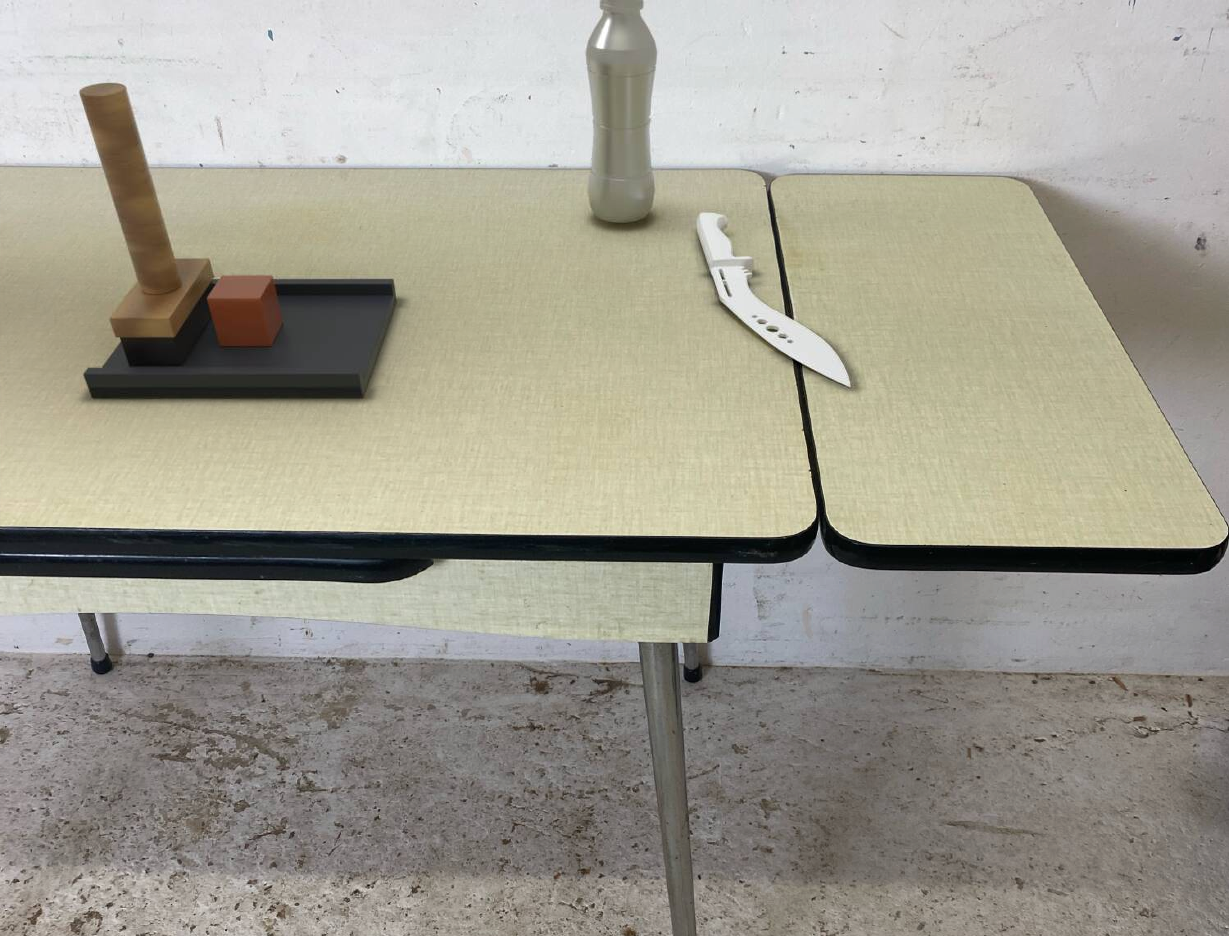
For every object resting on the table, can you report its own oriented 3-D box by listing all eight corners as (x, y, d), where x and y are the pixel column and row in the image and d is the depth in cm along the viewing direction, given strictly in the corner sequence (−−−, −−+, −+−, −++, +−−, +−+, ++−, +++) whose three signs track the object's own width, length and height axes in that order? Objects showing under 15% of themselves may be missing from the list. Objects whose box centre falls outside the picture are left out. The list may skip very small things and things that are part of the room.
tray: (91, 398, 79) (82, 374, 78) (161, 301, 91) (154, 278, 90) (363, 398, 79) (358, 373, 78) (396, 301, 91) (393, 278, 90)
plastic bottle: (659, 206, 106) (665, -24, 93) (648, 233, 101) (653, -6, 88) (595, 202, 107) (591, -27, 94) (581, 229, 102) (576, -9, 89)
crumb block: (219, 346, 83) (206, 298, 80) (233, 322, 86) (221, 275, 83) (271, 346, 83) (259, 297, 80) (283, 322, 86) (272, 274, 83)
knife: (855, 377, 79) (751, 380, 79) (851, 396, 80) (749, 400, 80) (775, 208, 101) (693, 210, 100) (773, 226, 102) (692, 227, 101)
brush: (125, 367, 81) (38, 113, 69) (168, 305, 88) (97, 67, 76) (183, 367, 80) (107, 113, 69) (222, 305, 88) (159, 67, 76)
